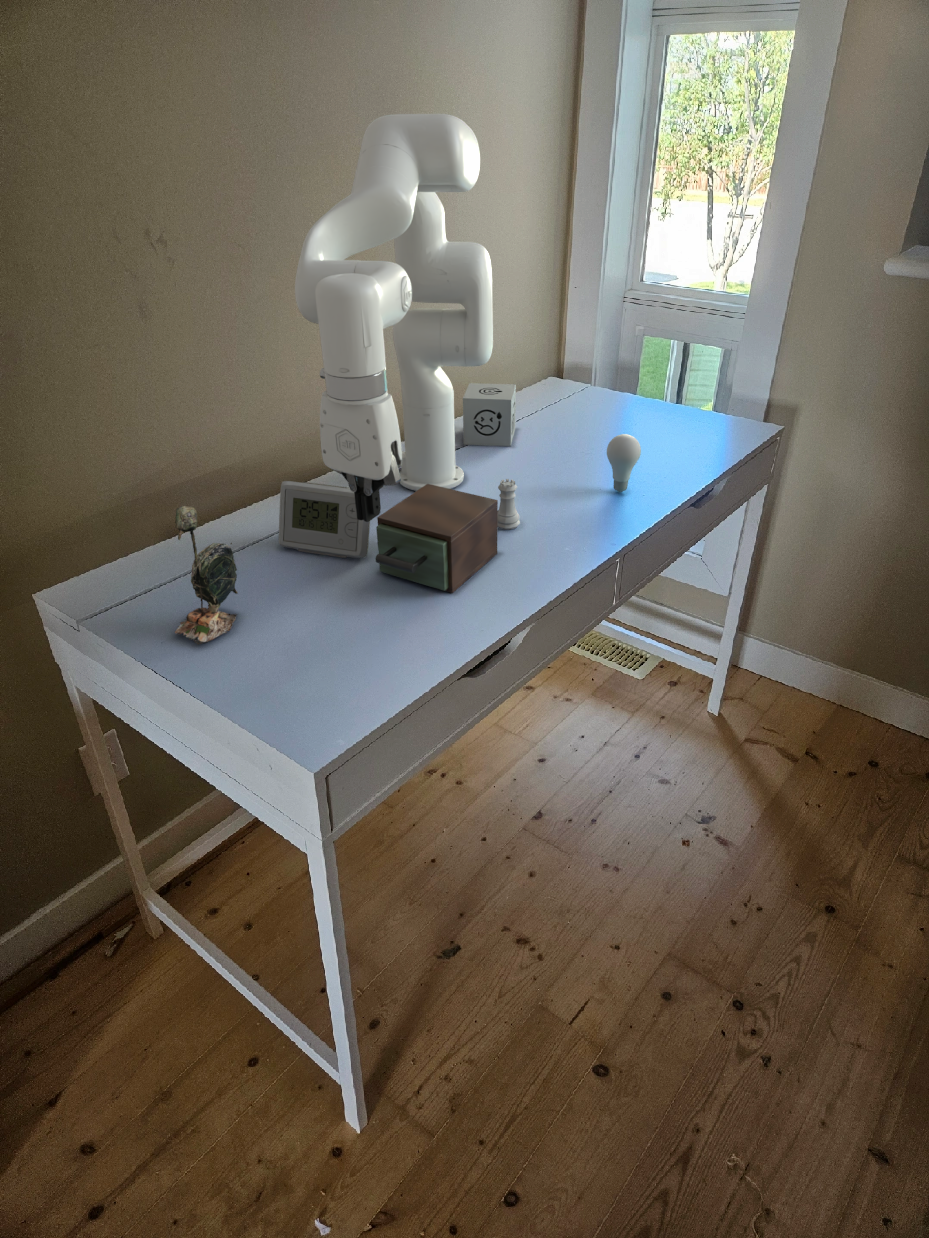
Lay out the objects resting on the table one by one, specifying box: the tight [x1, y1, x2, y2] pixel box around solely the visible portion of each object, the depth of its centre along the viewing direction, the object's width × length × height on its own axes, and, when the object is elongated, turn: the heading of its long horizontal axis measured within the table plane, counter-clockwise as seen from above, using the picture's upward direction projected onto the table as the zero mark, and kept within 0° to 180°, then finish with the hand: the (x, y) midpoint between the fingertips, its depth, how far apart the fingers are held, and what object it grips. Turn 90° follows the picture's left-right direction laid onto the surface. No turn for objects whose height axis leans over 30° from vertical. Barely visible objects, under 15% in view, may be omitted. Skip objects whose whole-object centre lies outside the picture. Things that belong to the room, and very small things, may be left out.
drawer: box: [375, 524, 449, 592], centre depth 127 cm, size 17×12×8 cm
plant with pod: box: [174, 505, 239, 645], centre depth 113 cm, size 8×11×20 cm
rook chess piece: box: [497, 478, 521, 531], centre depth 141 cm, size 4×4×8 cm
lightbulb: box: [606, 433, 642, 493], centre depth 151 cm, size 6×6×11 cm
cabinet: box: [376, 484, 499, 594], centre depth 130 cm, size 14×13×10 cm
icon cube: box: [462, 382, 517, 447], centre depth 176 cm, size 10×10×10 cm
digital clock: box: [278, 480, 371, 559], centre depth 135 cm, size 16×9×11 cm, turn 61°
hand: (369, 516), depth 112 cm, fingers closed
